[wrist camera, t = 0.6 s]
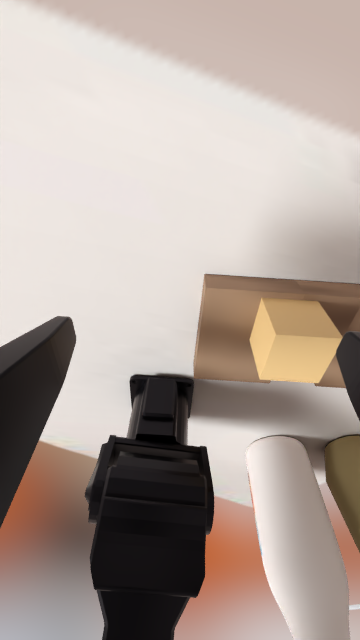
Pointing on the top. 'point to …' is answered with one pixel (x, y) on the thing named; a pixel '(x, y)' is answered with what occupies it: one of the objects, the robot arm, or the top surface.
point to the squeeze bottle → (345, 480)
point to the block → (293, 340)
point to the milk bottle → (297, 540)
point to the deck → (239, 317)
